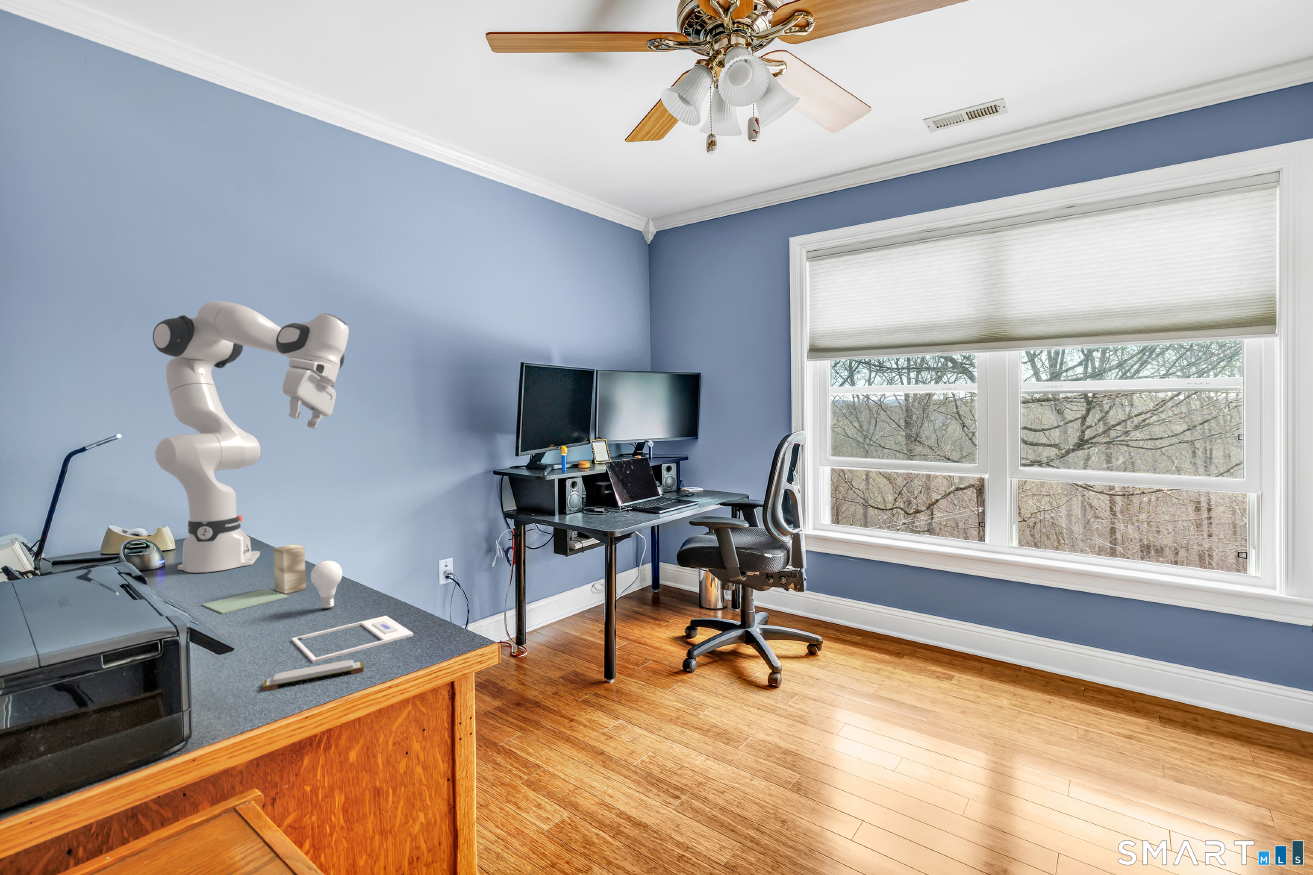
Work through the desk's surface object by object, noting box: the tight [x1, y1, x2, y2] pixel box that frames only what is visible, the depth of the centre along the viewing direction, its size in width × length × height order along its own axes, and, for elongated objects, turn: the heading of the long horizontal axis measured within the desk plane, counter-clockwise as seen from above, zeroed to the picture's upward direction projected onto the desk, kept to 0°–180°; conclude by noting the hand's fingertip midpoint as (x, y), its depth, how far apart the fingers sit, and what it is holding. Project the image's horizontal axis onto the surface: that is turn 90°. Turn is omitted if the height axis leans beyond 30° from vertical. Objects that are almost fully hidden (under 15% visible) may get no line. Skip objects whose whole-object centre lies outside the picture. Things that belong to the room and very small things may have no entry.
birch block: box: [272, 544, 307, 595], centre depth 151 cm, size 5×5×11 cm
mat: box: [201, 588, 290, 614], centre depth 143 cm, size 14×11×1 cm
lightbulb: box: [310, 560, 343, 610], centre depth 137 cm, size 6×6×11 cm
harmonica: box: [262, 659, 364, 692], centre depth 101 cm, size 15×3×2 cm, turn 118°
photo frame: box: [291, 615, 414, 663], centre depth 119 cm, size 15×1×18 cm
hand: (302, 422), depth 154 cm, fingers open, 8 cm apart
